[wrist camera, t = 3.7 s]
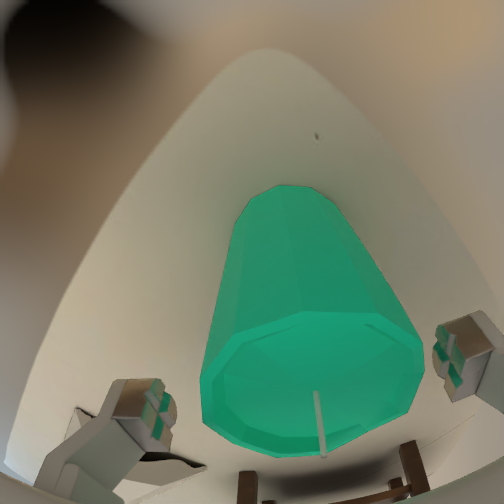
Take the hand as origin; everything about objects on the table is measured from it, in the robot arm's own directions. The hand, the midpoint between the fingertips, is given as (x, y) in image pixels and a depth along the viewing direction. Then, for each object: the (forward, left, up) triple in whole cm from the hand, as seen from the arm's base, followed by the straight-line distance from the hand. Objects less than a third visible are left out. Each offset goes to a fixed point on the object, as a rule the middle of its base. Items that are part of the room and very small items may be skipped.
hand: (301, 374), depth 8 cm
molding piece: (+30, +30, -10) cm, 43 cm away
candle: (0, 0, -10) cm, 10 cm away
